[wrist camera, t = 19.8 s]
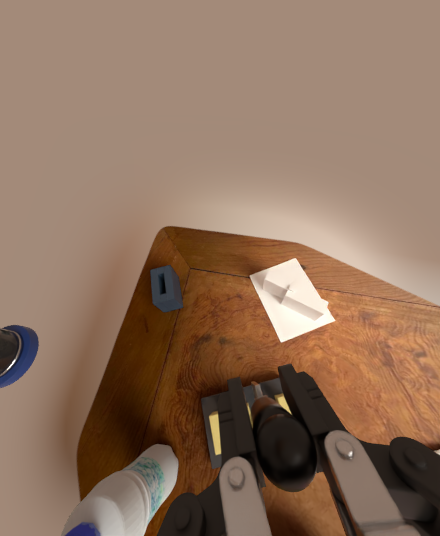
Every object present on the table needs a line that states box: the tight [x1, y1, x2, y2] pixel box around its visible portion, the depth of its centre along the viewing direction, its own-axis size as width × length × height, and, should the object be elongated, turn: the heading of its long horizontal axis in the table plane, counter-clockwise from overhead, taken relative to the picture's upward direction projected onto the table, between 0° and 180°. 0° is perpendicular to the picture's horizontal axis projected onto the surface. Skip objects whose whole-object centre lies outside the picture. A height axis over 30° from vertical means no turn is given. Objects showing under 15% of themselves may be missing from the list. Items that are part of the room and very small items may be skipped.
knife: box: [250, 381, 317, 492], centre depth 15 cm, size 2×4×19 cm, turn 13°
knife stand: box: [150, 265, 183, 312], centre depth 43 cm, size 4×7×6 cm, turn 13°
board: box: [201, 378, 283, 469], centre depth 33 cm, size 14×9×2 cm, turn 103°
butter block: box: [209, 403, 252, 455], centre depth 31 cm, size 6×4×4 cm
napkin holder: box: [250, 258, 335, 342], centre depth 40 cm, size 15×11×6 cm
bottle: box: [61, 444, 178, 536], centre depth 23 cm, size 7×7×20 cm
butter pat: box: [275, 393, 292, 415], centre depth 31 cm, size 2×4×4 cm, turn 13°
